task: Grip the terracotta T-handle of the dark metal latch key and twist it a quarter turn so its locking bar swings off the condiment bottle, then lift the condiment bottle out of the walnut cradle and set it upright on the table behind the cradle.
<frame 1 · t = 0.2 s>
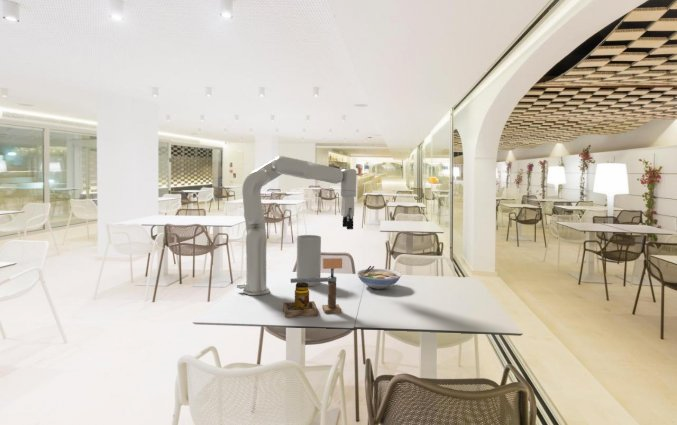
hand: (347, 228, 215), 31 cm above the table, tool pointing down, fingers open, 9 cm apart
condiment: (300, 311, 182), resting in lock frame
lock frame: (314, 311, 183), on the table
cylinder vase: (308, 284, 228), on the table
ramen bowl: (378, 287, 223), on the table
t key: (316, 270, 181), point 17 cm above the table, hinge at 0.0°
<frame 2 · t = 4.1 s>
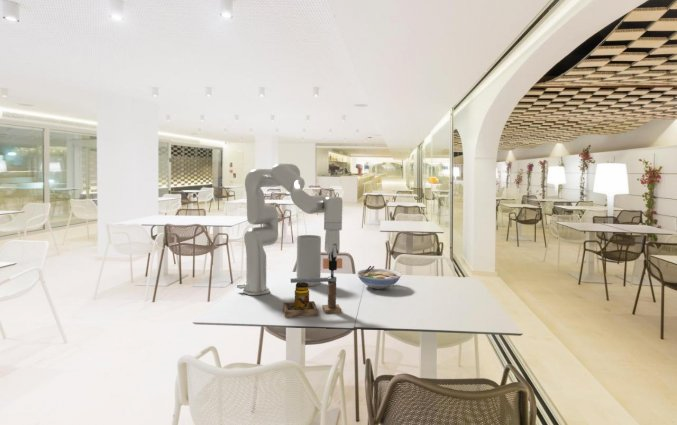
hand: (332, 269, 182), 18 cm above the table, tool pointing down, fingers closed on t key, 2 cm apart
t key: (316, 270, 181), point 17 cm above the table, hinge at 0.0°, touching gripper
everything else where it was.
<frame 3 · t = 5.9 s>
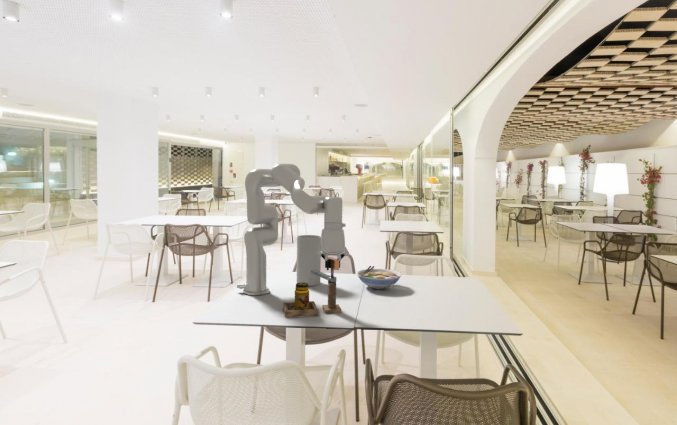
hand: (332, 269, 182), 18 cm above the table, tool pointing down, fingers closed on t key, 3 cm apart
t key: (324, 267, 188), point 17 cm above the table, hinge at -69.9°, touching gripper
everything else where it was.
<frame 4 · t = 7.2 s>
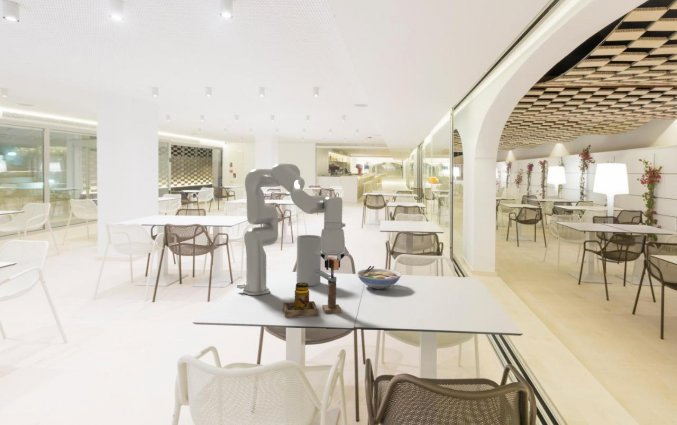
hand: (332, 268, 182), 18 cm above the table, tool pointing down, fingers open, 3 cm apart
t key: (325, 266, 189), point 17 cm above the table, hinge at -75.2°
everything else where it was.
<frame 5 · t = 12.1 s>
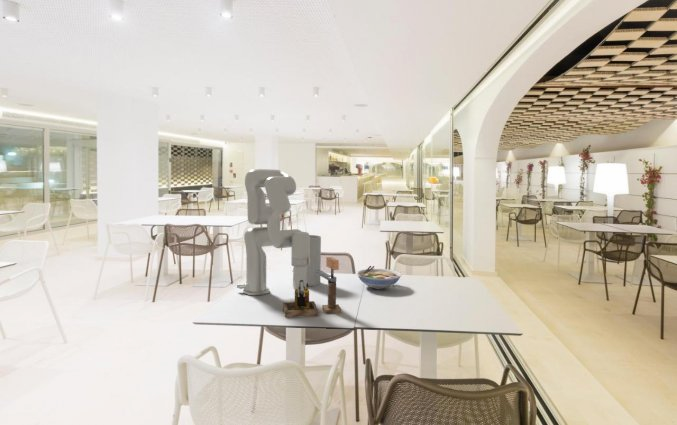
hand: (300, 303, 181), 4 cm above the table, tool pointing down, fingers open, 7 cm apart
condiment: (299, 311, 182), resting in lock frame, touching gripper
everything else where it was.
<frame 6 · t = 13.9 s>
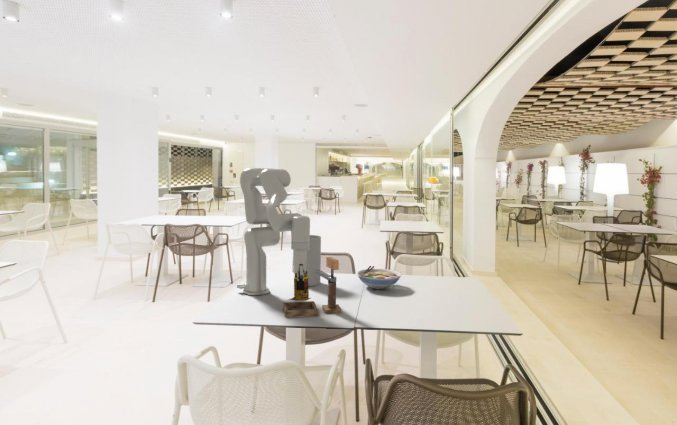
hand: (299, 287, 181), 10 cm above the table, tool pointing down, fingers closed on condiment, 6 cm apart
condiment: (299, 299, 181), point 5 cm above the table, touching gripper
everything else where it was.
when the fingers open (6 cm above the table, at t = 19.2 s): condiment stays where it is, on the table.
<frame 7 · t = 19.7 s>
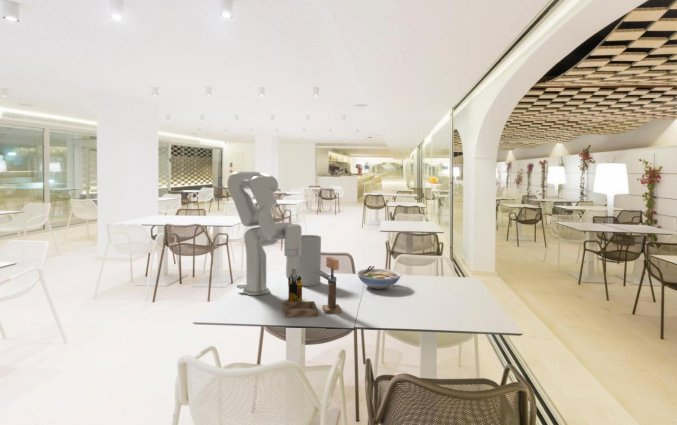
hand: (292, 289, 194), 6 cm above the table, tool pointing down, fingers open, 9 cm apart
condiment: (293, 303, 194), on the table
everything else where it was.
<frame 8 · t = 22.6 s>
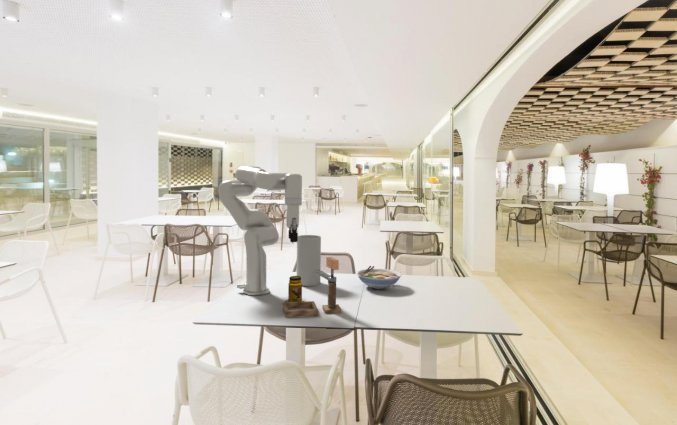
hand: (293, 240, 192), 28 cm above the table, tool pointing down, fingers open, 9 cm apart
nothing on the table moved.
at the end: t key at -75° (first picture: +0°); condiment inside the target area (1.0 cm from its centre), on the table; condiment tilted 0° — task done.
